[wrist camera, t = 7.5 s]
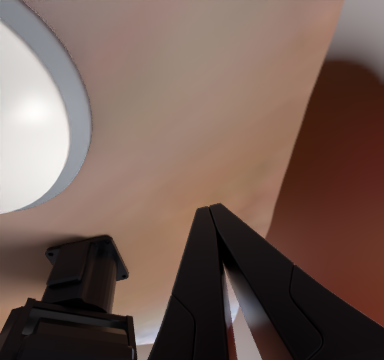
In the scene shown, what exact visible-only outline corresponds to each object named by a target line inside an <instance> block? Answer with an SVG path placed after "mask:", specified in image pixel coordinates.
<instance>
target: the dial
mask: <svg viewBox="0 0 384 360" xmlns="http://www.w3.org/2000/svg"><path fill="white" fill-rule="evenodd" d="M70 146H71V125H70V119H69V114H68V111H67V107H66V104H65V101H64V98H63V96H62V94H61V91H60V89H59V87H58V85H57V83H56V81H55V80H54V78H53V76H52V74H51V73H50V71H49V70H48V68H47V67H46V65H45V64H44V63H43V61H42V60H41V58H40V57H39V56H38V54H37V53H36V52H35V51H34V50H33V49H32V48H31V46H30V45H29V44H28V43H27V42H26V41H25V40H24V39H23V38H22V37H21V36H20V35H19V34H18V33H17V32H16V31H15V30H14V29H13V28H12V27H11V26H10V25H9V24H8V23H6V22H5V21H4V20H2V19H1V18H0V214H2V213H7V212H11V211H14V210H17V209H21V208H23V207H25V206H27V205H29V204H31V203H33V202H34V201H36V200H37V199H39V198H41V197H42V196H43V195H44V194H45V193H46V192H47V191H48V190H49V189H50V188H51V187H52V185H53V184H54V183H55V182H56V180H57V178H58V177H59V175H60V173H61V172H62V170H63V168H64V166H65V164H66V162H67V159H68V156H69V152H70Z"/></svg>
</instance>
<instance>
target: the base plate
mask: <svg viewBox="0 0 384 360" xmlns="http://www.w3.org/2000/svg"><path fill="white" fill-rule="evenodd" d="M0 18H1V19H2V20H4V21H5V22H6V23H8V24H9V25H10V26H11V27H12V28H13V29H14V30H15V31H16V32H17V33H18V34H19V35H20V36H21V37H22V38H23V39H24V40H25V41H26V42H27V43H28V44H29V45H30V46H31V48H32V49H33V50H34V51H35V52H36V53H37V54H38V56H39V57H40V58H41V60H42V61H43V63H44V64H45V65H46V67H47V68H48V70H49V71H50V73H51V74H52V76H53V78H54V80H55V81H56V83H57V85H58V87H59V89H60V91H61V94H62V96H63V98H64V101H65V104H66V107H67V111H68V114H69V119H70V125H71V146H70V152H69V156H68V159H67V162H66V164H65V166H64V168H63V170H62V172H61V173H60V175H59V177H58V178H57V180H56V182H55V183H54V184H53V185H52V187H51V188H50V189H49V190H48V191H47V192H46V193H45V194H44V195H43V196H42V197H41V198H39V199H37V200H36V201H34V202H33V203H31V204H29V205H27V206H25V207H23V208H21V209H17V210H14V211H20V210H24V209H28V208H32V207H35V206H37V205H40V204H42V203H45V202H46V201H48V200H50V199H52V198H54V197H55V196H57V195H58V194H59V193H61V192H62V191H63V190H64V189H65V188H66V187H67V186H68V185H69V184H70V183H71V182H72V181H73V179H74V178H75V176H76V175H77V173H78V172H79V170H80V168H81V166H82V164H83V162H84V160H85V157H86V155H87V153H88V150H89V146H90V143H91V137H92V112H91V106H90V101H89V97H88V94H87V91H86V87H85V84H84V82H83V80H82V78H81V75H80V73H79V71H78V69H77V67H76V65H75V63H74V62H73V60H72V58H71V56H70V55H69V53H68V51H67V50H66V49H65V47H64V46H63V44H62V43H61V42H60V40H59V39H58V38H57V36H56V35H55V34H54V33H53V31H52V30H51V29H50V28H49V27H48V26H47V25H46V24H45V22H44V21H43V20H42V19H41V18H40V17H39V16H38V15H37V14H36V13H35V12H34V11H33V10H31V9H30V8H29V7H28V6H27V5H26V4H25V3H24V2H23V1H22V0H0ZM11 212H13V211H11Z"/></svg>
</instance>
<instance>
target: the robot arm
mask: <svg viewBox="0 0 384 360" xmlns="http://www.w3.org/2000/svg"><path fill="white" fill-rule="evenodd" d="M107 241H109V242H107ZM45 255H46V257H47V258H48V259H49V261H50V262H51V263H52V265H53V268H52V270H51V273H50V275H49V277H48V280H47V282H46V284H47V287H46V289H45V292H44V294H43V297H42V299H41V301H36V300H35V299H32V298H28V300H27V302H26V304H25V306H24V307H23V306H21V307H19V308H16V309H12V311H11V313H10V315H9V317H8V319H7V321H6V323H5V325H4V327H3V329H2V331H1V333H0V360H137V351H136V342H135V333H134V324H133V317H132V316H121V315H115V314H112V307H113V300H114V293H115V286H116V281H119V280H124V279H127V278H128V277H129V272H128V270H127V268H126V266H125V264H124V262H123V260H122V257H121V255H120V253H119V251H118V249H117V247H116V245H115V243H114V241H113V239H112V237H110V236H105V237H100V238H95V239H90V240H85V241H81V242H76V243H71V244H66V245H61V246H56V247H51V248H48V249H47V251H46V253H45ZM223 264H224V265H223ZM224 268H225V270H226V273H227V276H228V278H229V280H230V283H231V285H232V288H233V290H234V293H235V295H236V297H237V300H238V302H239V305H240V307H241V310H242V312H243V314H244V317H245V319H246V322H247V324H248V327H249V329H250V331H251V334H252V336H253V339H254V341H255V343H256V346H257V348H258V351H259V353H260V355H261V358H262V360H384V327H382V326H381V325H379V324H378V323H376V322H375V321H373V320H372V319H370V318H369V317H367V316H366V315H364V314H363V313H361V312H360V311H358V310H357V309H355V308H354V307H352V306H351V305H349V304H348V303H346V302H345V301H343V300H342V299H341V298H339V297H338V296H336V295H335V294H334V293H332V292H331V291H329V290H328V289H326V288H325V287H324V286H322V285H321V284H320V283H318V282H317V281H316V280H315V279H313V278H312V277H311V276H309V275H308V274H307V273H306V272H304V271H303V270H302V269H301V268H300V267H298V266H297V265H294V263H293V262H292V261H291V260H290V259H288V258H287V257H286V256H285V255H284V254H282V253H281V252H280V251H278V250H277V249H276V248H275V247H274V246H272V245H271V244H270V243H269V242H268V241H266V240H265V239H264V238H263V237H262V236H260V235H259V234H258V233H257V232H255V231H254V230H253V229H252V228H251V227H249V226H248V225H247V224H246V223H244V222H243V221H242V220H241V219H240V218H238V217H237V216H236V215H235V214H233V213H232V212H231V211H230V210H228V209H227V208H226V207H225V206H224V205H222V204H221V203H217V204H213V205H210V206H209V207H208V206H205V207H201V208H198V209H197V210H196V213H195V216H194V219H193V223H192V226H191V229H190V233H189V236H188V239H187V243H186V246H185V249H184V253H183V256H182V259H181V263H180V266H179V269H178V273H177V276H176V279H175V283H174V286H173V289H172V293H171V294H172V295H171V296H170V299H169V302H168V306H167V309H166V312H165V315H164V318H163V321H162V324H161V327H160V330H159V332H158V335H157V337H156V340H155V342H154V345H153V347H152V350H151V352H150V355H149V357H148V359H147V360H238V359H237V353H236V345H235V338H234V331H233V325H232V318H231V311H230V304H229V297H228V290H227V283H226V276H225V270H224Z"/></svg>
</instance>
